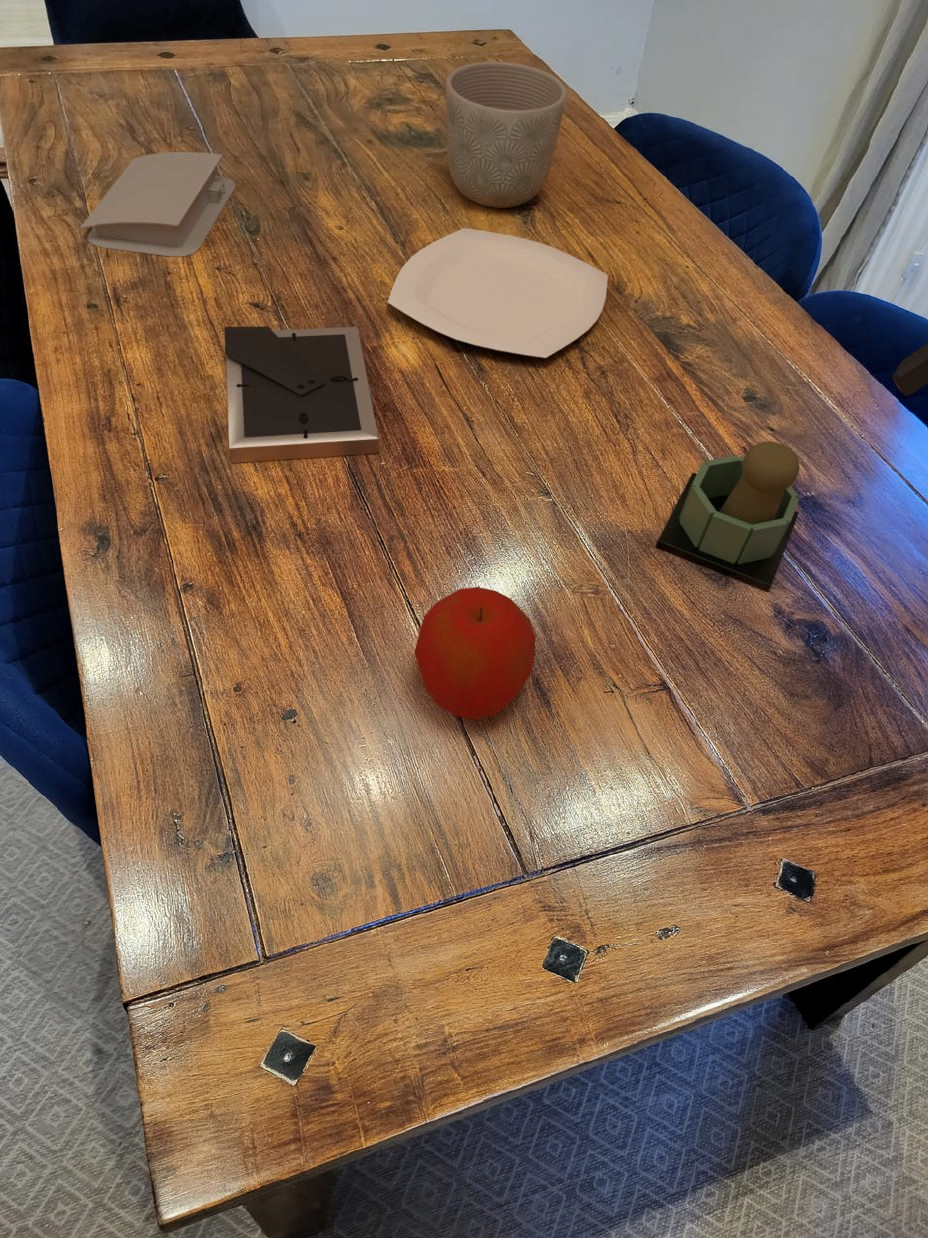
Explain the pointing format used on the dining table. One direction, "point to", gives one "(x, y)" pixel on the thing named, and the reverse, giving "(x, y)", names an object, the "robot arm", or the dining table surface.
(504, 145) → the planter
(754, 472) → the cork
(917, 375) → the robot arm
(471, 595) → the apple
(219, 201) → the book
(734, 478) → the cup holder
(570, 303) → the plate
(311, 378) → the face-down photo frame
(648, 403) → the dining table surface
